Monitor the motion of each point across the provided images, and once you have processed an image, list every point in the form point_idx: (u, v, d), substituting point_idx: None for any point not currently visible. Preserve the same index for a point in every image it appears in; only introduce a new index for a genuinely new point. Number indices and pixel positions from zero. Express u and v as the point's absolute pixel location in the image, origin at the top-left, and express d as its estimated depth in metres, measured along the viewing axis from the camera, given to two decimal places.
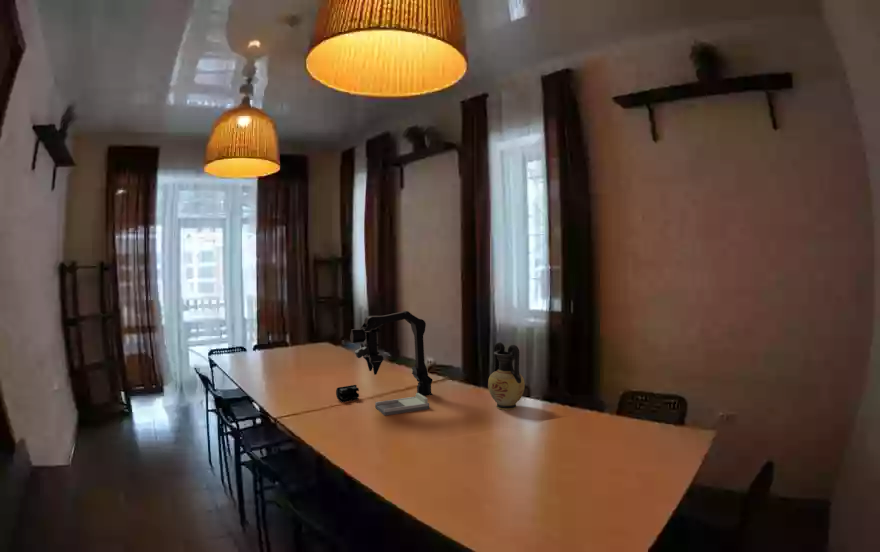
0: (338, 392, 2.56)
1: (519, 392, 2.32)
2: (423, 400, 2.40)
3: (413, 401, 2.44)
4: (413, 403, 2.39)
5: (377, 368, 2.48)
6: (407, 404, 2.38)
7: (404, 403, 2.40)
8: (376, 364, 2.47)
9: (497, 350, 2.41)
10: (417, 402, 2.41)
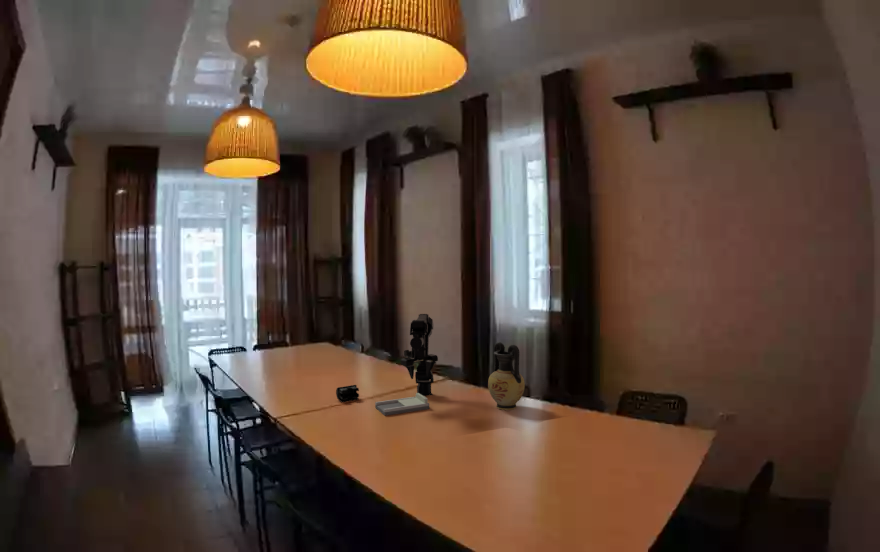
0: (338, 392, 2.56)
1: (519, 392, 2.32)
2: (423, 400, 2.40)
3: (413, 401, 2.44)
4: (413, 403, 2.39)
5: (411, 373, 2.45)
6: (407, 404, 2.38)
7: (404, 403, 2.40)
8: (410, 368, 2.45)
9: (497, 350, 2.41)
10: (417, 402, 2.41)
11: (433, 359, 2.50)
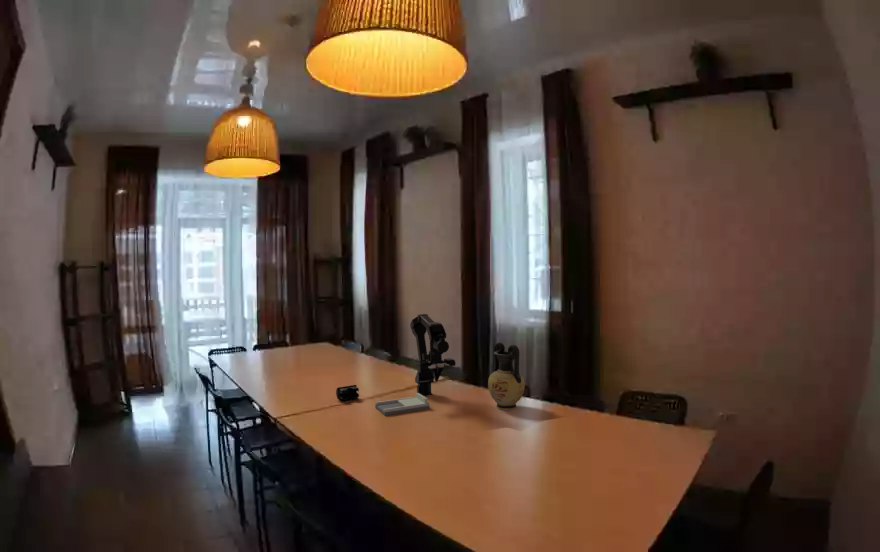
0: (338, 392, 2.56)
1: (519, 392, 2.32)
2: (423, 400, 2.40)
3: (413, 401, 2.44)
4: (413, 403, 2.39)
5: (434, 375, 2.46)
6: (407, 404, 2.38)
7: (404, 403, 2.40)
8: (433, 371, 2.47)
9: (497, 350, 2.41)
10: (417, 402, 2.41)
11: (450, 363, 2.47)
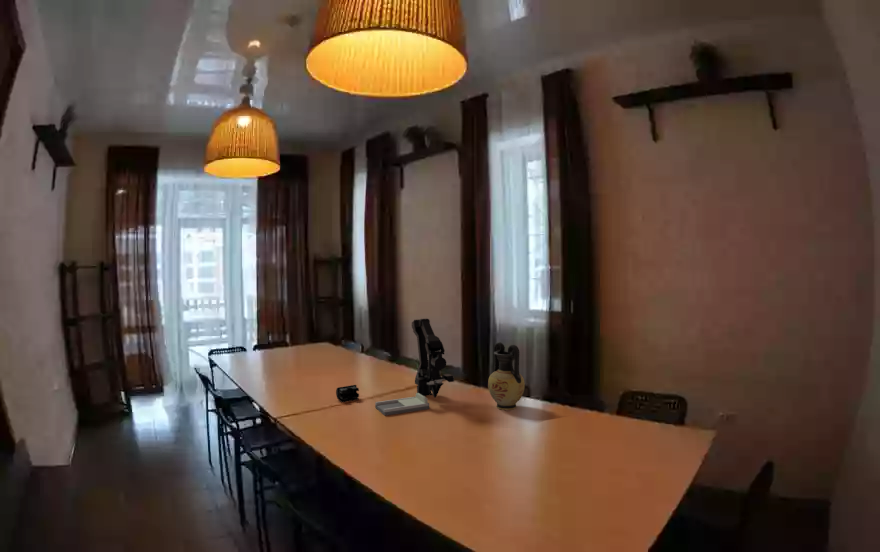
0: (338, 392, 2.56)
1: (519, 392, 2.32)
2: (423, 400, 2.40)
3: (413, 401, 2.44)
4: (413, 403, 2.39)
5: (433, 391, 2.46)
6: (407, 404, 2.38)
7: (404, 403, 2.40)
8: (432, 387, 2.46)
9: (497, 350, 2.41)
10: (417, 402, 2.41)
11: (448, 379, 2.47)
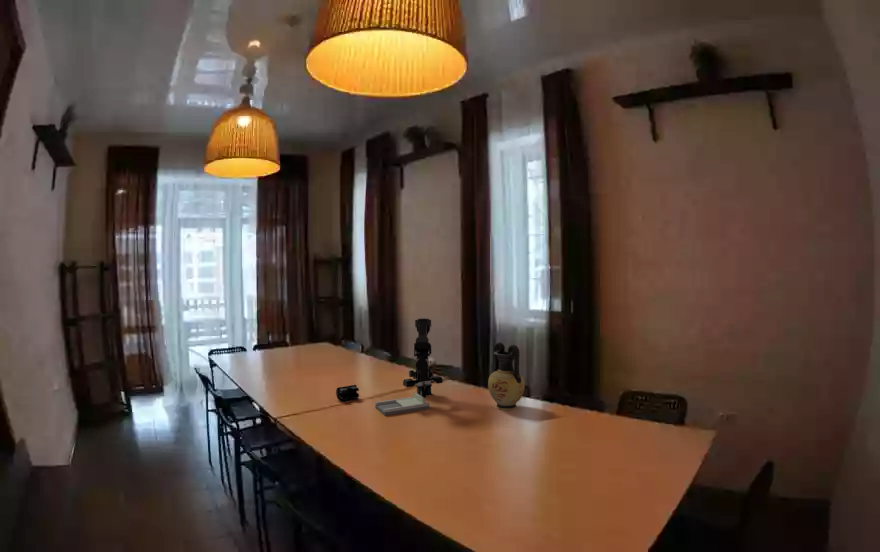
0: (338, 392, 2.56)
1: (519, 392, 2.32)
2: (421, 400, 2.40)
3: (411, 401, 2.43)
4: (411, 403, 2.39)
5: (421, 393, 2.44)
6: (405, 404, 2.38)
7: (402, 403, 2.39)
8: (420, 388, 2.44)
9: (497, 350, 2.41)
10: (415, 402, 2.41)
11: (437, 381, 2.45)
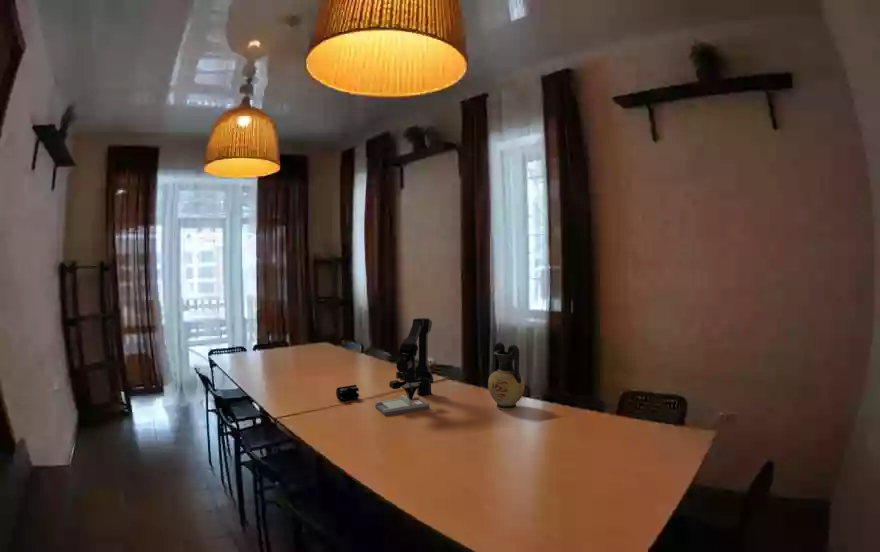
0: (338, 392, 2.56)
1: (519, 392, 2.32)
2: (408, 402, 2.37)
3: (397, 403, 2.41)
4: (397, 405, 2.36)
5: (408, 395, 2.41)
6: (391, 406, 2.35)
7: (388, 405, 2.37)
8: None
9: (497, 350, 2.41)
10: (402, 404, 2.38)
11: (424, 382, 2.42)
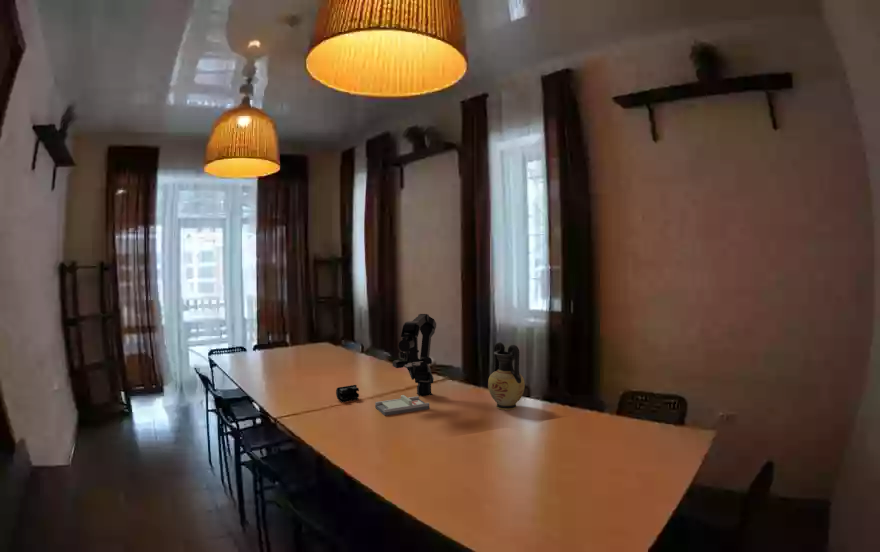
0: (338, 392, 2.56)
1: (519, 392, 2.32)
2: (407, 402, 2.37)
3: (397, 403, 2.40)
4: (397, 405, 2.36)
5: (410, 373, 2.47)
6: (391, 406, 2.35)
7: (388, 405, 2.37)
8: (410, 369, 2.47)
9: (497, 350, 2.41)
10: (401, 404, 2.38)
11: (426, 362, 2.48)
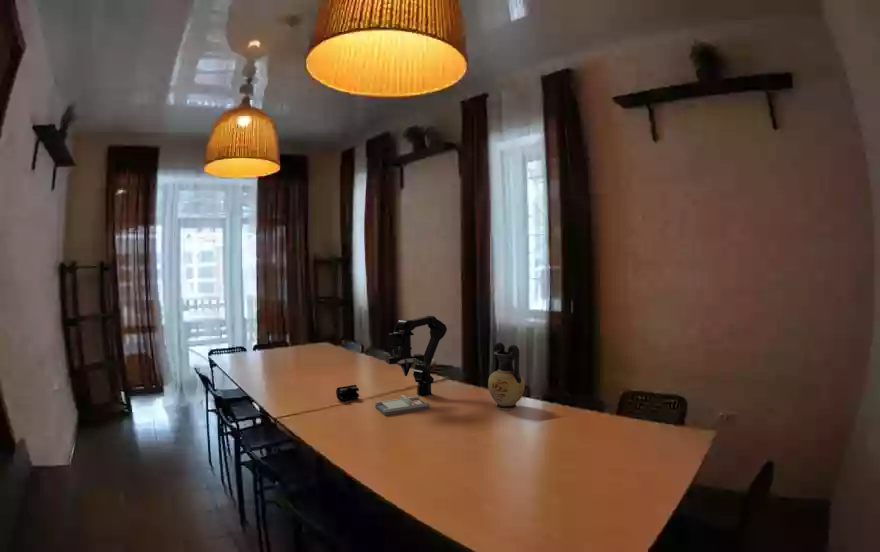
0: (338, 392, 2.56)
1: (519, 392, 2.32)
2: (407, 402, 2.37)
3: (397, 403, 2.40)
4: (397, 405, 2.36)
5: (403, 370, 2.54)
6: (391, 406, 2.35)
7: (388, 405, 2.37)
8: (403, 366, 2.54)
9: (497, 350, 2.41)
10: (401, 404, 2.38)
11: (419, 359, 2.54)
